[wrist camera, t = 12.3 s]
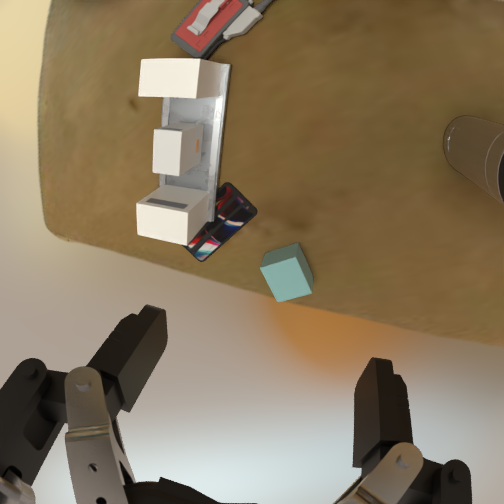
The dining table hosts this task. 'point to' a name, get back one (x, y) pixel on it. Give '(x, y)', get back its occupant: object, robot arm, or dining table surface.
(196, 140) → the block
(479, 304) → the dining table surface
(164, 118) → the grey rectangular tray
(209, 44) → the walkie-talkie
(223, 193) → the smartphone
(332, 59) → the dining table surface
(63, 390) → the robot arm
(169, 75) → the block
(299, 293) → the block
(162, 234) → the module
